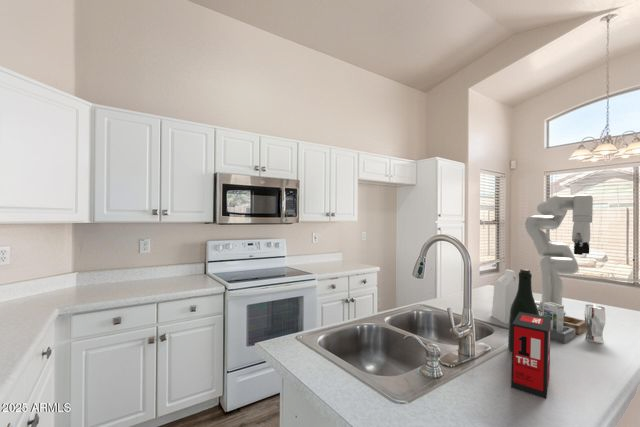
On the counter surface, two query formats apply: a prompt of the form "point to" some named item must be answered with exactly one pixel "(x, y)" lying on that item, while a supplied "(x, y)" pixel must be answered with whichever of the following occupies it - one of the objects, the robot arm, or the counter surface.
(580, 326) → the walnut holder
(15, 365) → the counter surface
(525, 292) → the dark green wine bottle
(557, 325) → the syrup box
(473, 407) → the counter surface
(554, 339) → the gray square frame
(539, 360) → the cleaning product box
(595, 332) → the beer glass
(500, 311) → the milk
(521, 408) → the counter surface
